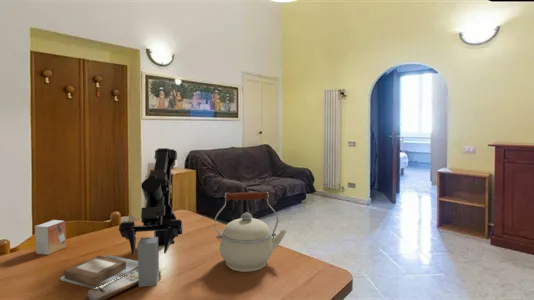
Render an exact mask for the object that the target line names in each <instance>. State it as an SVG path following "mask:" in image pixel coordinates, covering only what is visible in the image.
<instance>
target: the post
mask: <svg viewBox="0 0 534 300" xmlns="http://www.w3.org/2000/svg"><path fill="white" fill-rule="evenodd" d="M159 255H160V254H159V246H158V237H154V236H151V237H150V236H149V237H141V238H140V239H139V241H138V243H137V261H138V269H137V271H138V273H137V275H138V287H139V288H140V287H154V286H157V285H158V281H159V278H160V269H159V268H160V265H159V264H160V262H159V260H160V259H159V258H160V257H159Z"/></svg>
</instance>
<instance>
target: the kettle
mask: <svg viewBox="0 0 534 300" xmlns="http://www.w3.org/2000/svg"><path fill="white" fill-rule="evenodd" d="M269 197H270V195H269V192H268V191H264V192H253V191H251V192H249V191H248V192H235V193H230V192H225V195H224V197H223V198H224V200H225V201H224V204H223V206H222V207H221V209H219V211H218V212H217V213H216V215H215V216H214V227H215V229H216V232H217V234H218V235H217V236H216V237H215V239H218V242H220V244H219V253H220V256H221V257H222V259H223V260H224V261H225V264H226V266H227V267H228V268H229V269H230V270H232V271H237V272H239V273H240V272H242V273H248V272H249V273H250V272H255V271H258V270H261V269H264V267H266V265H267V263H268V260H270V258H271V256H272V254H273V252H274V250H275V249H276V248H277V247H278V246H279V245H280V243H281V242H282V240H283V238H284V237H285V234H287V232H288V231H287V229H281V230H279V233H278V234H277V233H275V232H276V230H277V227H278V223H279V217H278V214H277V211H276V210H275V209H274V208H273V207H272V206H271V205H270V203H269ZM261 199H263V200H266V203H267V205H268V206H269V208H270V209H271V210H272V211H273V212H274V214H275V216H276V222H275V225H274V228H273V230H271V228H269V226H268V225H267V223H266V222H264V221H263V220H260V219H257V218H254V217H253V215H252V214H251V213H249V212H247V211H246V212H244V213H243V214H242V215H241V216H240V218H237V219H233V220H231V221H230V222H228V223H227V224H226V225H225V227H224V229H222V230H221V231H220V232H219V230H218V227H217V223H216V220H217V217H219V215H220V213H221V212H222V211H223V210H224V208H225V207H226V205H227V202H228V201H231V200H233V201H250V200H252V201H255V200H256V201H257V200H261ZM220 239H221V241H220Z"/></svg>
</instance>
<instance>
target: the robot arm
mask: <svg viewBox="0 0 534 300" xmlns="http://www.w3.org/2000/svg"><path fill="white" fill-rule="evenodd" d="M154 160H155V164H154V167H153V171H152V172H151V173H149V174H148V176H147V178H146V179H145V180H143V181H142V183H141V189H142V192H143V197H144V199H145V207H141V209H140V210H141V212H140V213H141V214H140V219H141V223H142V225H141V224H140V225H138V224H137V225H136V224H135V222H134V221H122V222H121V223H119V226H118V231H119V233H120V235H121V237H122V238H125V240H127V241H128V242H129V245H130V251H131V256H135V254H136V253H135V252H136V244H137V237H136V235H137V232H139V233H140V232H142V233H143V232H153V237H158V247H159V246H164V248H163V254H164V255H165V254H167V251H168V250H169V248H170V246H171V244H173V243H175V242H176V241H175V240H174V239H175V238H178V237H179V236H180V235H182V234H183V227H184V226H183V221H182V220H181V219H177V216H176V214H175V213H174V210H173V208H172V206H171V204H170V201H171V185H172V184H171V181H172V180H171V179H172V178H171V177H172V170H173V169H174V167H175V165H176V161H177V160H178V153H177V150H175V149H174V148H173V149H171V148H169V147H167V148H166V147H165V148H160V147H159V148H157V149H156V150H154Z"/></svg>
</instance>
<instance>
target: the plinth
mask: <svg viewBox="0 0 534 300" xmlns="http://www.w3.org/2000/svg"><path fill="white" fill-rule="evenodd" d="M136 270H138V260H134V259H130V258H124V257H120V256H116V255H115V256H114V255H112V254H111V255H110V254H109V255H106V256H102V255H96V256H94V257H92V258H90V259H87V260H85V261H83V262H81V263H79V264H77V265H74V266H72V267H70V268H68V269H65V270H64V275H63V276H61V277H59V279H60V281H63V282H67V283H70V284H73V285H78V286H81V287H85V288H89V289H92V288H96V287H99V286H101V285H104V284H106V283H108V282H110V281H112V280H115V279H117V278H118V277H121V276H123V275H125V274H126V273H129V272H131V271H133V272H134V271H136ZM131 273H132V272H131ZM129 274H130V273H129ZM125 276H126V275H125ZM92 290H93V289H92Z"/></svg>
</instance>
